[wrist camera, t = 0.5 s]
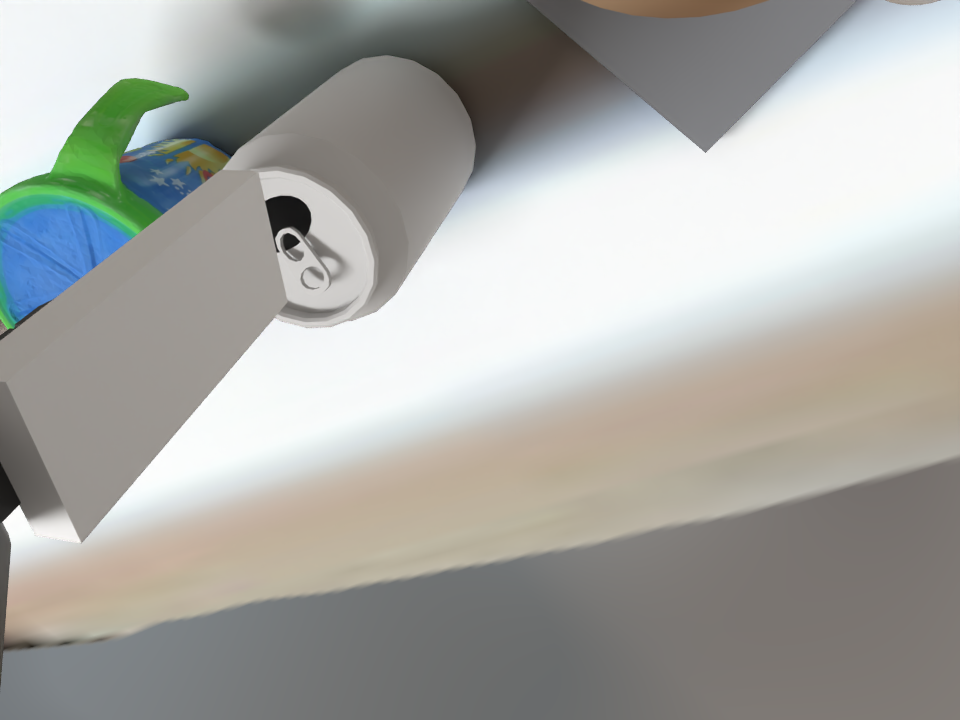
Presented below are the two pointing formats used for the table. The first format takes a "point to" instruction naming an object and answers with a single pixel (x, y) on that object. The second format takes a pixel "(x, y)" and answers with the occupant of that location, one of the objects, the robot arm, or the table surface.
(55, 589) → the table surface
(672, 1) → the dial
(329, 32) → the table surface
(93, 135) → the snack cup
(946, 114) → the table surface
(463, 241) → the table surface
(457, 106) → the can
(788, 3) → the dial base
